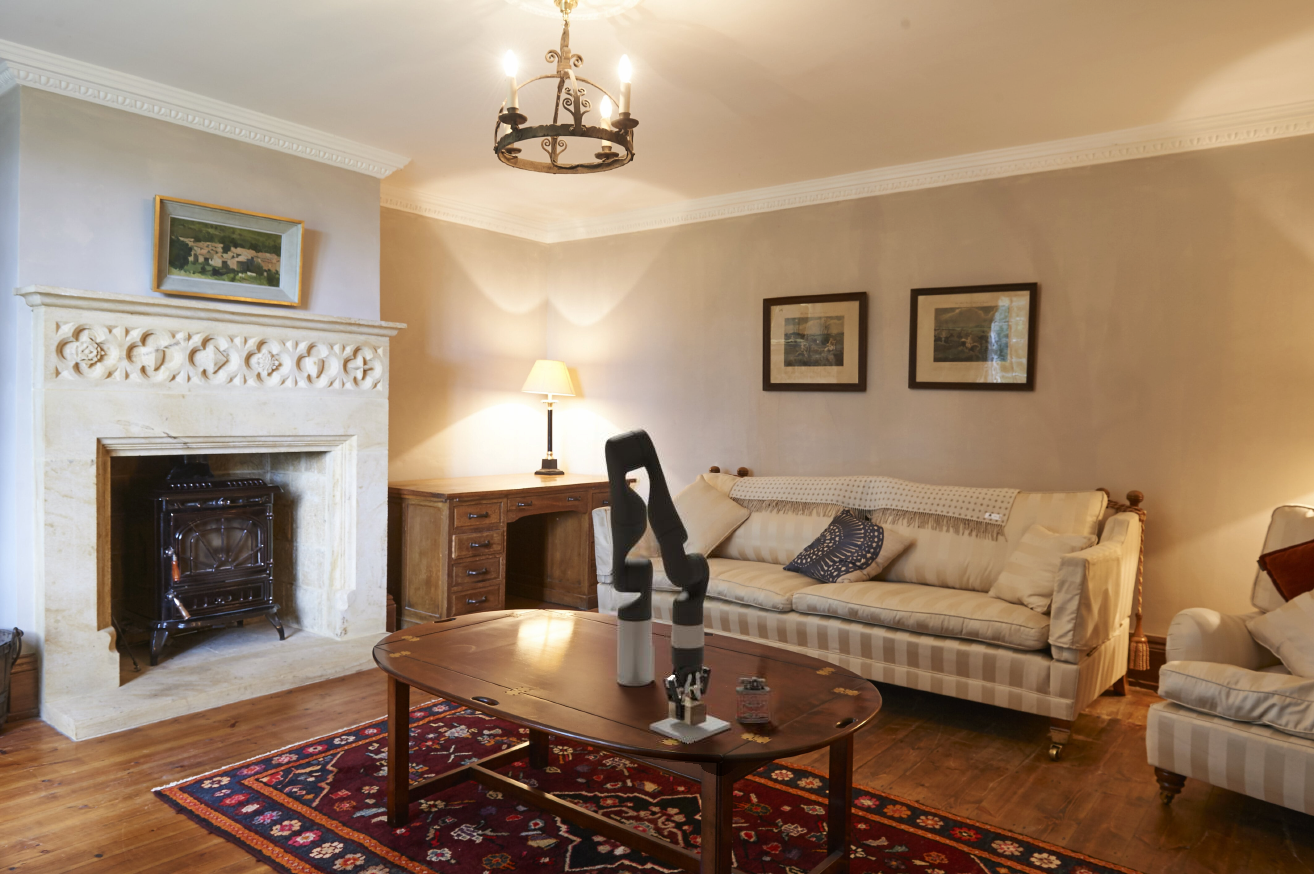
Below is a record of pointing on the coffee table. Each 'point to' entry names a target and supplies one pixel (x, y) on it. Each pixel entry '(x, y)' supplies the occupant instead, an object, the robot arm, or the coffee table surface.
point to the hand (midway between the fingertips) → (687, 716)
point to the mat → (689, 729)
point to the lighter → (752, 701)
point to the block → (690, 712)
